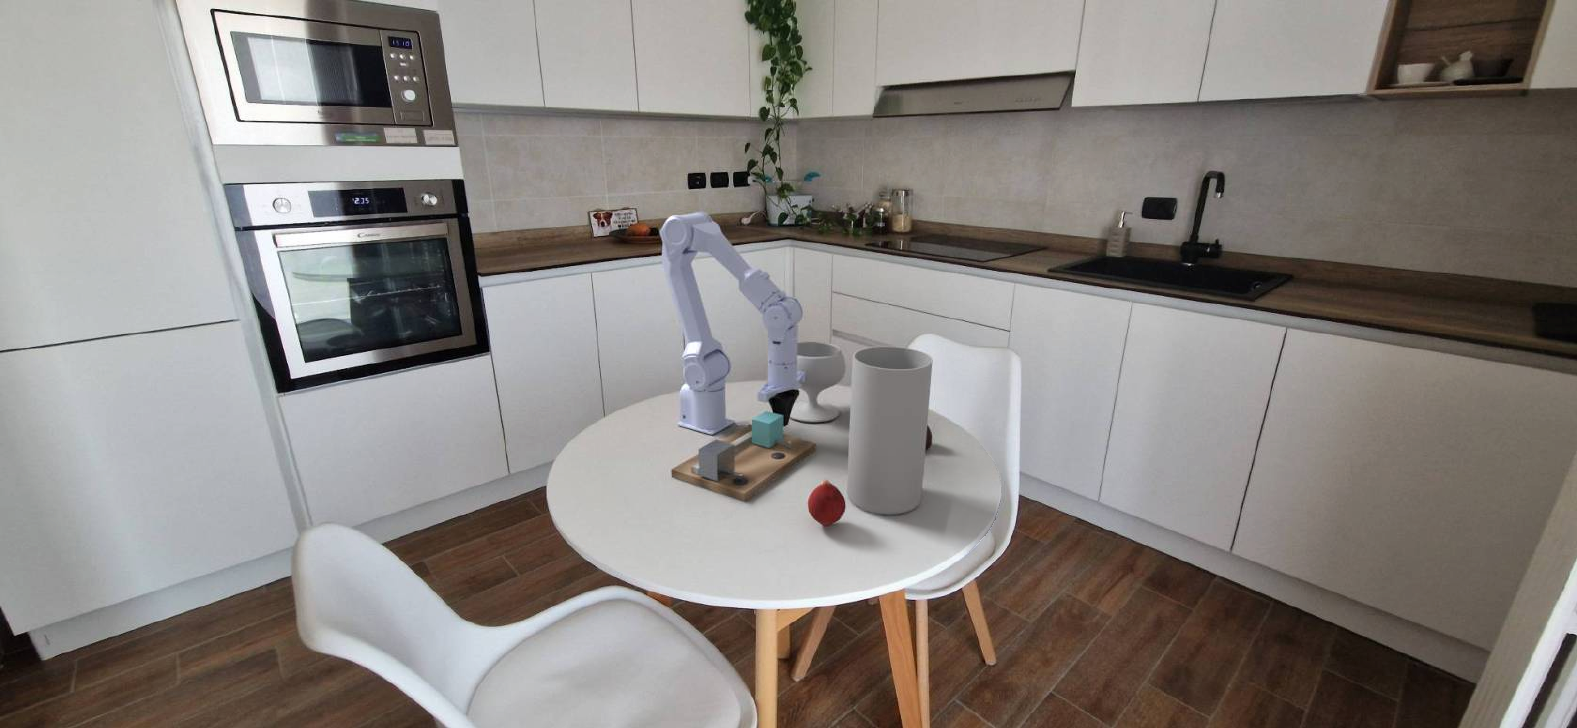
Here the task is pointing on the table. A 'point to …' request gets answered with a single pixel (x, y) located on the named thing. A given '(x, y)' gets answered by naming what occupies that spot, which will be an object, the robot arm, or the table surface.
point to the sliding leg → (768, 430)
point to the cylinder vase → (888, 428)
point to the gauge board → (748, 465)
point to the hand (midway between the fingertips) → (781, 424)
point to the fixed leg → (718, 461)
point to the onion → (826, 504)
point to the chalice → (818, 379)
